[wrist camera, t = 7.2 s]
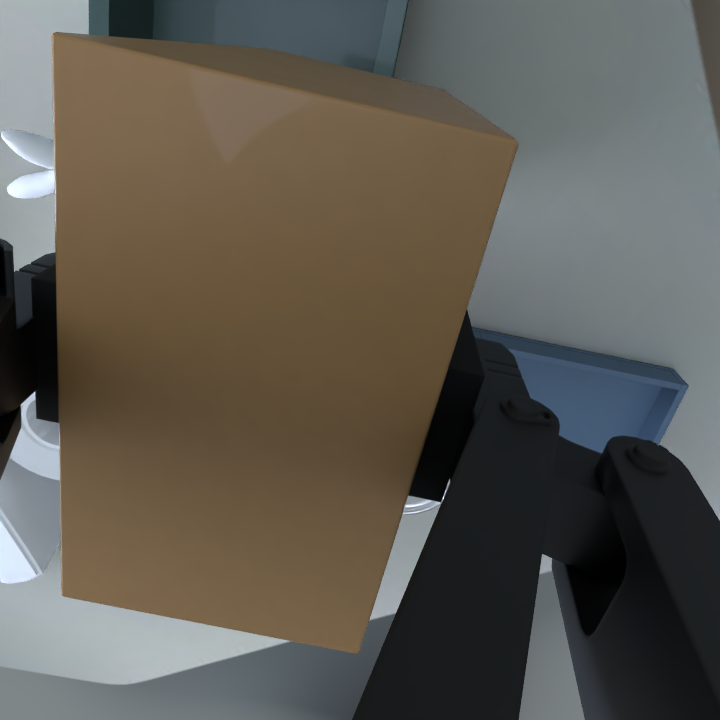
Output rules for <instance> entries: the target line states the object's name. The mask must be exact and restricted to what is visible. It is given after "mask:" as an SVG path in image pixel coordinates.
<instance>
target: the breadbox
mask: <svg viewBox="0 0 720 720" xmlns="http://www.w3.org/2000/svg"><path fill="white" fill-rule="evenodd" d="M408 2H409V0H89V35H100V36H113V37H126V38H138V39H151V40H164V41H177V42H190V43H203V44H216V45H229V46H241V47H254V48H267V49H273V50H278V51H282V52H286V53H290V54H295V55H299V56H303V57H307V58H312V59H316V60H320V61H324V62H329V63H333V64H337V65H341V66H345V67H350V68H354V69H358V70H362V71H367V72H371V73H375V74H379V75H384V76H388V77H392V78H393V76H394V71H395V66H396V61H397V56H398V51H399V46H400V41H401V36H402V31H403V27H404V22H405V17H406V12H407V7H408Z"/></svg>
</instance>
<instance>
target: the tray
mask: <svg viewBox="0 0 720 720" xmlns="http://www.w3.org/2000/svg"><path fill="white" fill-rule="evenodd" d="M472 330H473V334H474V337H476V338H481V339H485V340H490V341H495V342H499V343H502V344H503V345H504V346H505V347H506V348H507V349H508V350H509V351H510V352H511V353H512V354H513V355H514V357H515V359H516V362H517V364H518V369H520V372H521V375H522V378H523V380H524V382H525V385H526V388H527V390H528V393H529V395H530V398H531V399H534V400H536V401H538V402H540V403H542V404H543V405H545V406H546V407H547V408H549V409H550V410H551V411H552V412H553V413H554V414H555V415H556V416H557V417H558V420H559V424H560V430H559V435H560V436H562V437H563V438H565V439H567V440H569V441H572V442H574V443H576V444H578V445H581V446H584V447H586V448H589V449H591V450H594V451H596V452H599V453H602V452H603V450H604V448H605V446H606V444H607V442H608V441H609V440H610V439H611V438H612V437H615V436H622V435H624V436H630V437H637V438H640V439H643V440H650V441H652V442H654V443H657V445H659V443H660V441H661V439H662V437H663V435H664V433H665V431H666V429H667V427H668V425H669V423H670V422H671V420H672V418H673V416H674V414H675V412H676V410H677V408H678V406H679V404H680V402H681V400H682V398H683V396H684V394H685V392H686V390H687V388H688V384H687V383H686V382H685V381H684V380H683V379H682V378H681V377H680V375H679V374H678V373H677V372H676V371H675V370H674V369H670V368H665V367H660V366H656V365H651V364H646V363H641V362H636V361H631V360H627V359H622V358H617V357H612V356H607V355H602V354H597V353H593V352H588V351H583V350H578V349H573V348H568V347H564V346H559V345H554V344H549V343H544V342H539V341H535V340H530V339H525V338H520V337H515V336H510V335H506V334H501V333H496V332H491V331H486V330H481V329H477V328H472Z"/></svg>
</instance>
